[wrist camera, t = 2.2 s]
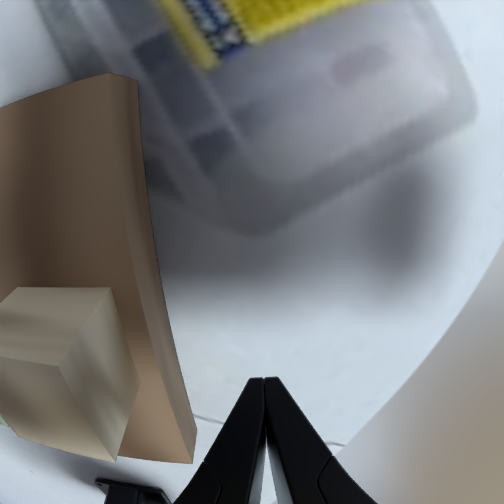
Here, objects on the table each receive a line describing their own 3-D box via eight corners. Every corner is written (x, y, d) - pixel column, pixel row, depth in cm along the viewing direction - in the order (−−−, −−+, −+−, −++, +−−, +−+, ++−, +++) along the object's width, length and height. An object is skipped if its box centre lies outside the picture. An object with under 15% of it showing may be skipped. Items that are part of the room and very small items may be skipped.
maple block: (140, 382, 12) (115, 462, 8) (54, 372, 12) (18, 436, 8) (110, 287, 10) (57, 365, 6) (17, 287, 10) (-41, 346, 6)
